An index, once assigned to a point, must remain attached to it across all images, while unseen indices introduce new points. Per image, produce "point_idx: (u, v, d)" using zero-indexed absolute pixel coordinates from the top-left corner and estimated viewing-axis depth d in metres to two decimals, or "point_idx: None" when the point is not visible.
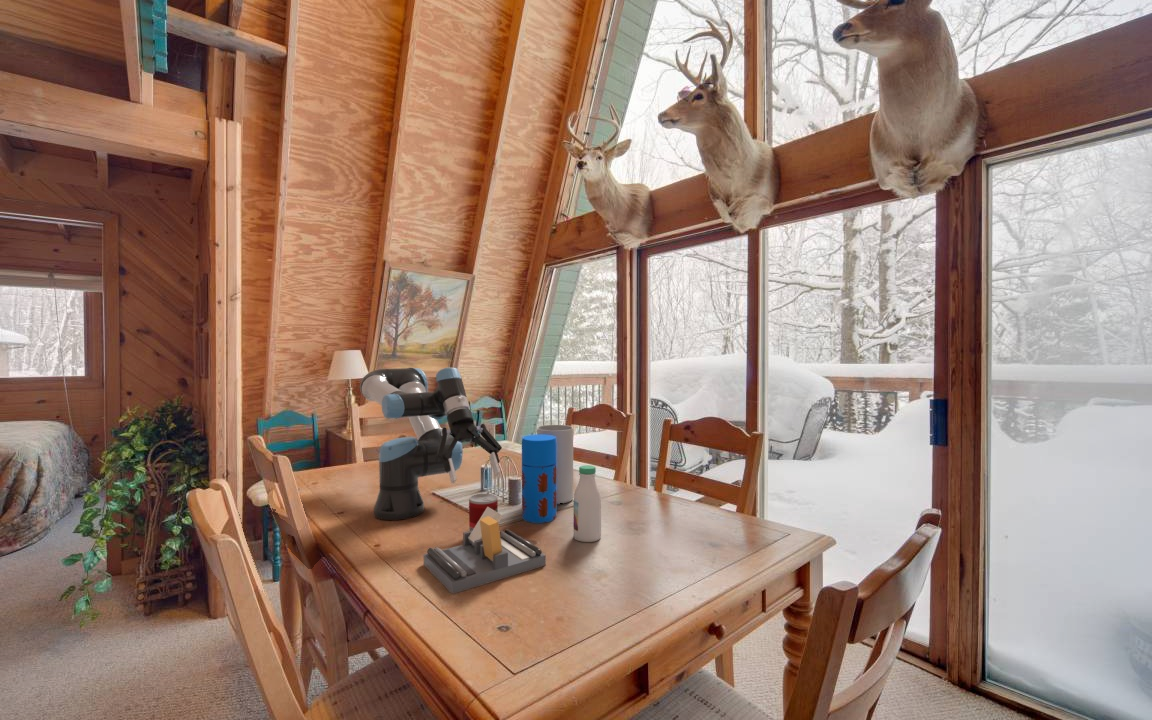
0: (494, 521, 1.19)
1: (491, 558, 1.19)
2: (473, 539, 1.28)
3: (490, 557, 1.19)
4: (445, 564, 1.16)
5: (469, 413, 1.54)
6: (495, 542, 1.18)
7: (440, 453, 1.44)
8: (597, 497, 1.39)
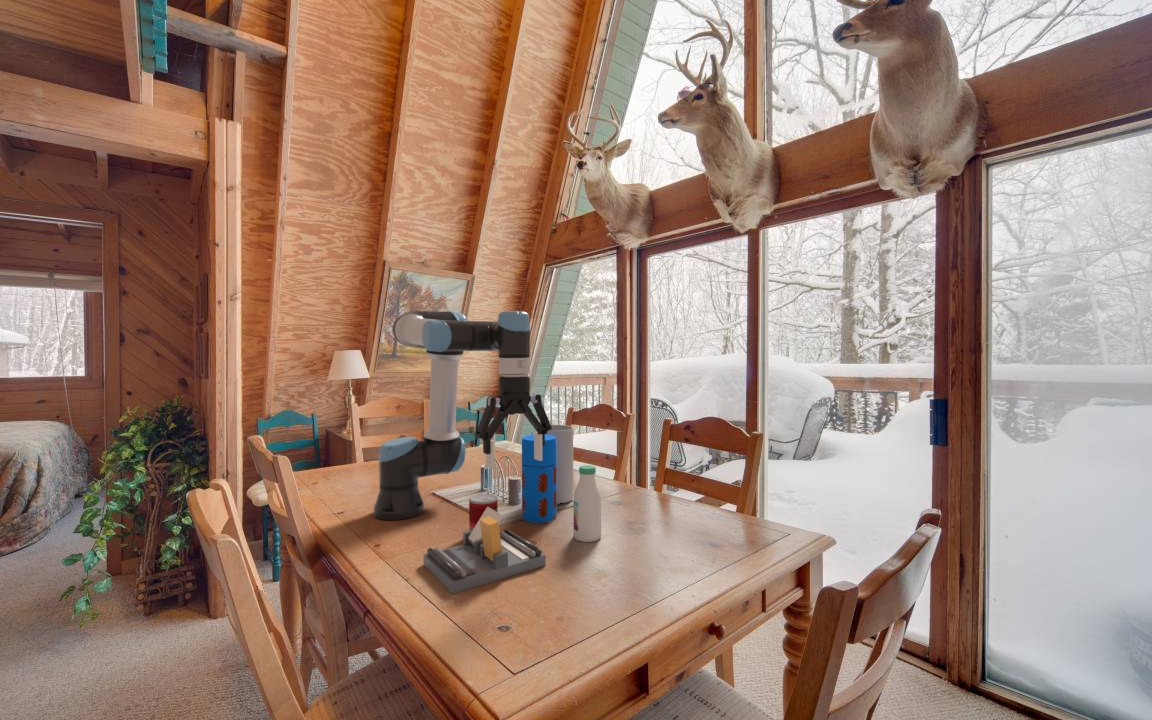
0: (494, 521, 1.19)
1: (491, 558, 1.19)
2: (473, 539, 1.28)
3: (490, 557, 1.19)
4: (445, 564, 1.16)
5: (528, 383, 1.21)
6: (495, 542, 1.18)
7: (483, 433, 1.17)
8: (597, 497, 1.39)
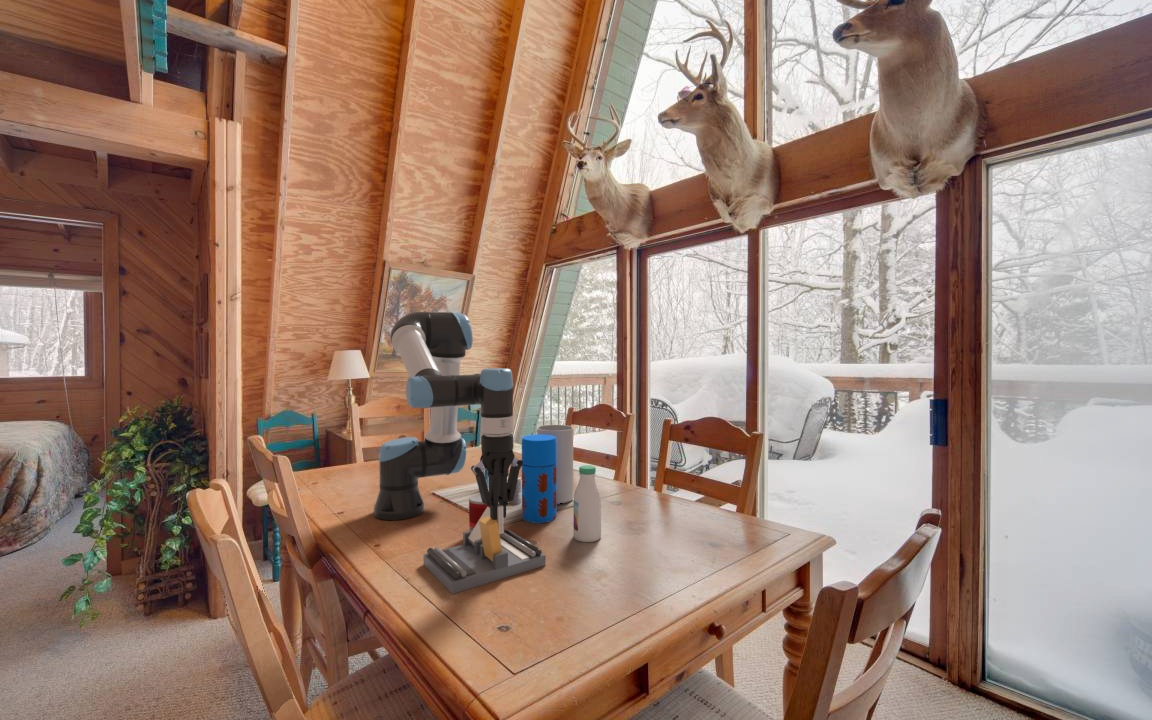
0: (493, 521, 1.18)
1: (491, 558, 1.19)
2: (473, 539, 1.28)
3: (490, 557, 1.19)
4: (445, 564, 1.16)
5: (511, 443, 1.19)
6: (494, 543, 1.18)
7: (488, 500, 1.18)
8: (597, 497, 1.39)
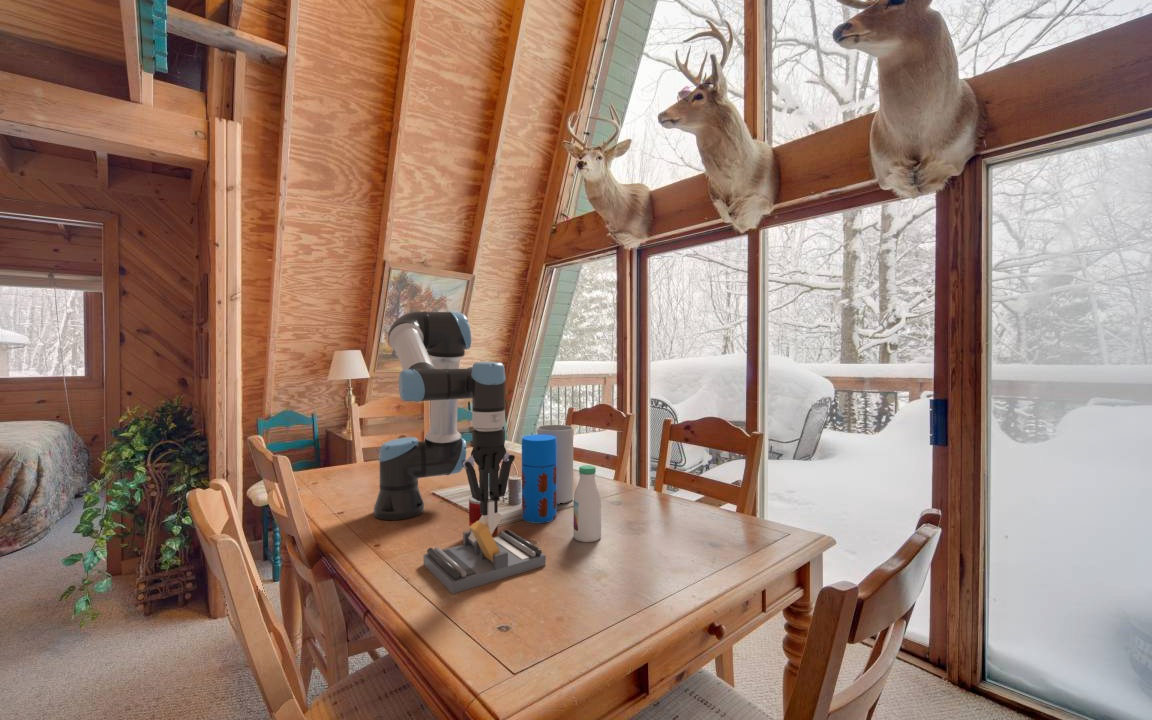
0: (483, 526, 1.17)
1: (491, 560, 1.19)
2: (473, 539, 1.28)
3: (490, 559, 1.19)
4: (445, 564, 1.16)
5: (502, 437, 1.17)
6: (490, 546, 1.17)
7: (478, 495, 1.17)
8: (597, 497, 1.39)
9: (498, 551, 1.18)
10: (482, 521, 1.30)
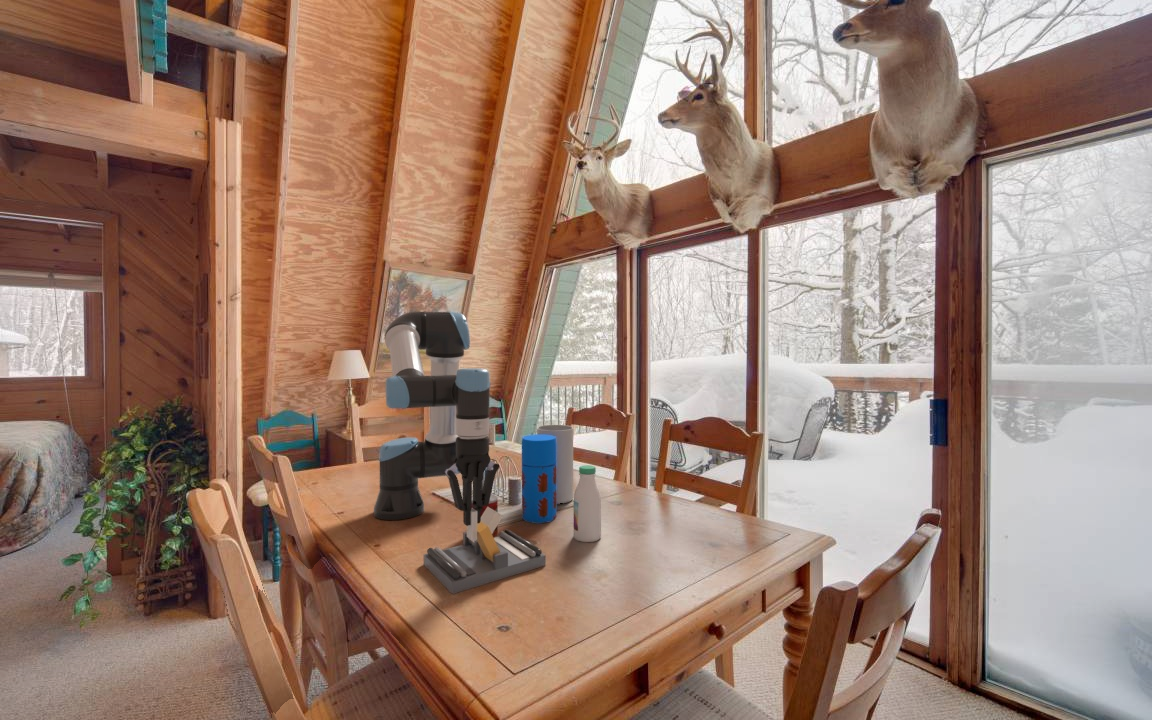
0: (484, 526, 1.17)
1: (491, 560, 1.19)
2: None
3: (490, 559, 1.19)
4: (445, 564, 1.16)
5: (486, 445, 1.15)
6: (490, 545, 1.17)
7: (461, 505, 1.14)
8: (597, 497, 1.39)
9: (498, 551, 1.18)
10: (482, 521, 1.30)
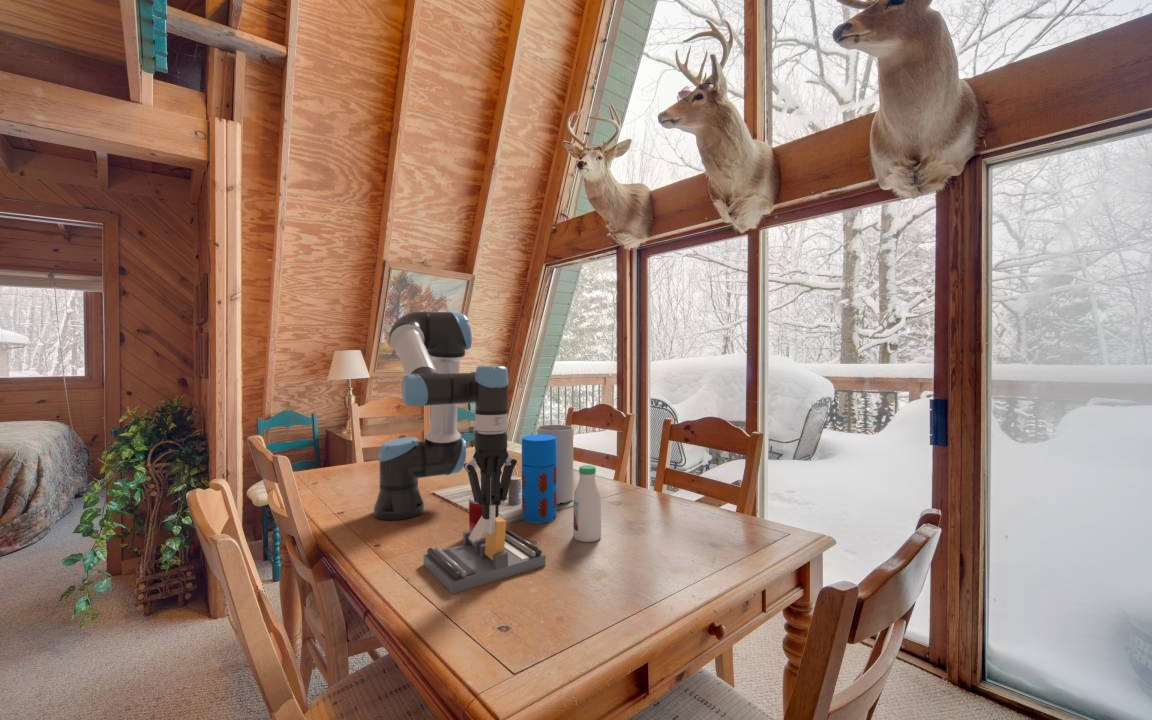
0: (502, 520, 1.20)
1: (491, 557, 1.19)
2: (473, 539, 1.28)
3: (490, 556, 1.19)
4: (445, 564, 1.16)
5: (504, 441, 1.18)
6: (499, 541, 1.18)
7: (480, 499, 1.16)
8: (597, 497, 1.39)
9: (502, 551, 1.19)
10: (482, 521, 1.30)
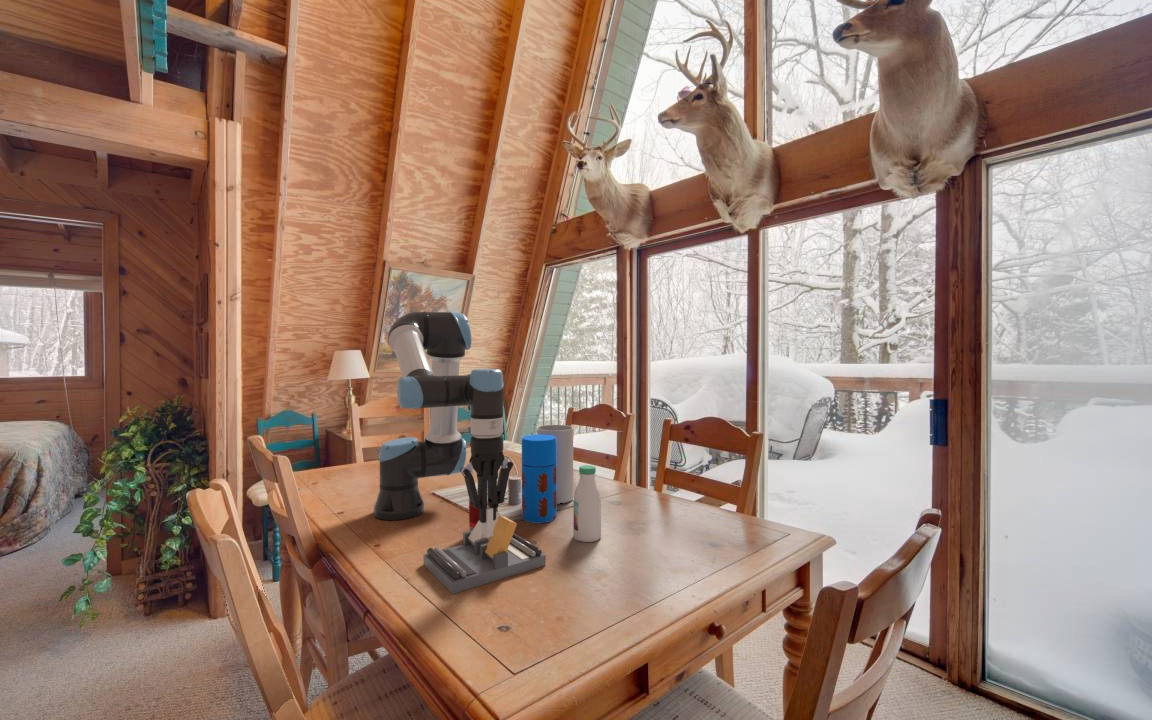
0: (513, 522, 1.22)
1: None
2: (473, 539, 1.28)
3: (492, 554, 1.19)
4: (445, 564, 1.16)
5: (501, 444, 1.17)
6: (505, 541, 1.19)
7: (477, 503, 1.16)
8: (597, 497, 1.39)
9: None
10: None
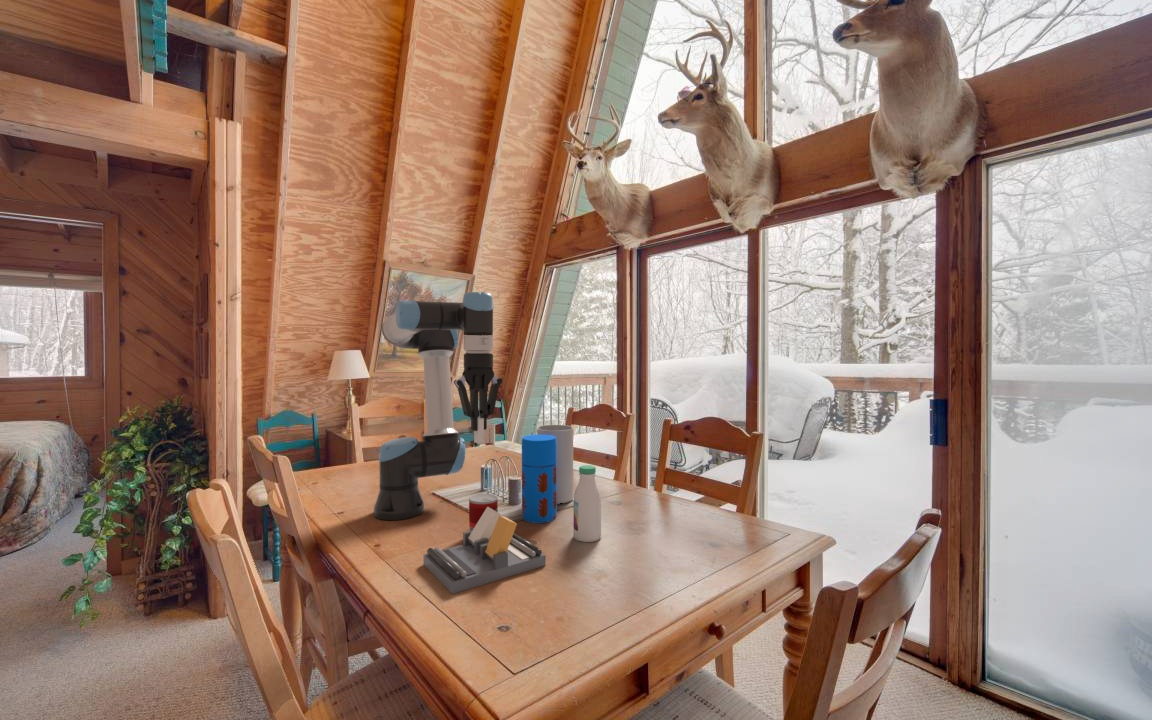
0: (513, 522, 1.22)
1: None
2: (473, 539, 1.28)
3: (492, 554, 1.19)
4: (445, 564, 1.16)
5: (490, 360, 1.30)
6: (505, 541, 1.19)
7: (469, 411, 1.29)
8: (597, 497, 1.39)
9: None
10: (482, 521, 1.30)
